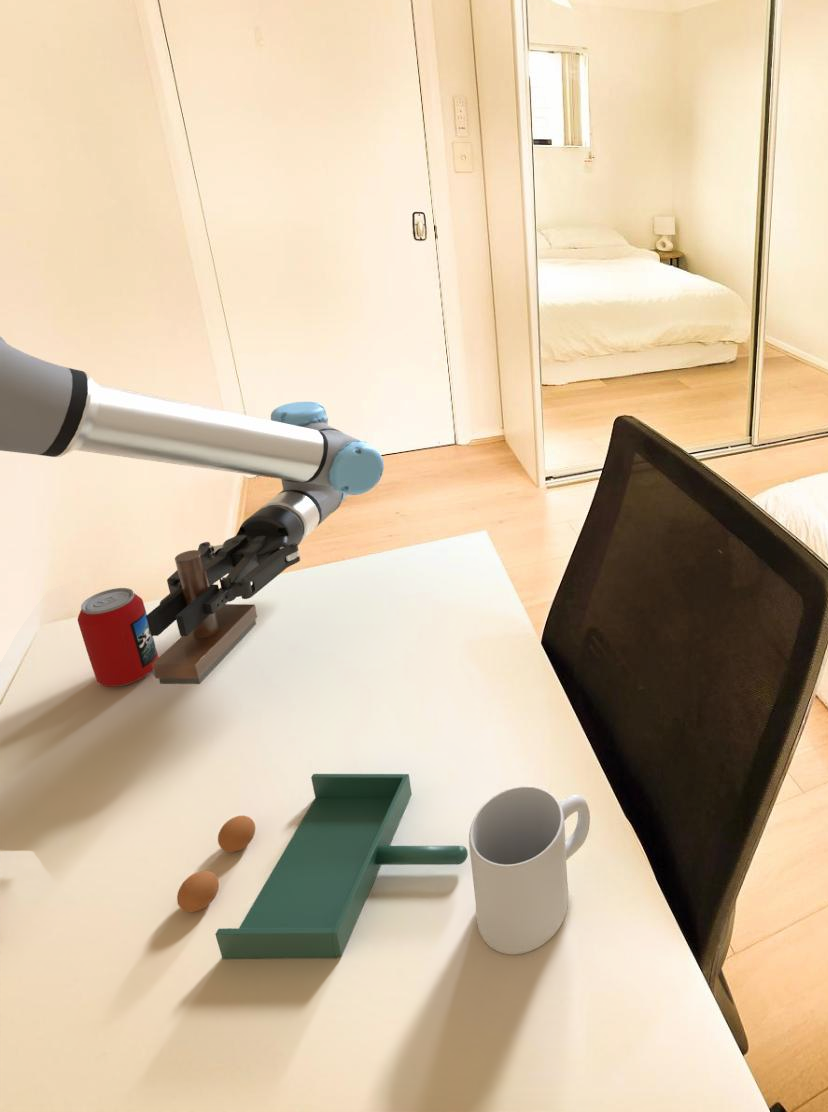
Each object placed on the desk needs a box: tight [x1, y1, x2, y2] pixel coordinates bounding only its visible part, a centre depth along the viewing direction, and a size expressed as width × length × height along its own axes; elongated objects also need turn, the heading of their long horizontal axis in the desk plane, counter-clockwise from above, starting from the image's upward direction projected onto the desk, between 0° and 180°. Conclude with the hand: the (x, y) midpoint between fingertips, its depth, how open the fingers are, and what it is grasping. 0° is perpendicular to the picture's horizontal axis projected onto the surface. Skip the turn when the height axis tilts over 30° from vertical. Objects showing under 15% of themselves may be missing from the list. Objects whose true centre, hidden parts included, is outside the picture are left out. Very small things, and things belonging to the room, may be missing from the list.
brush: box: [152, 549, 258, 685], centre depth 85 cm, size 5×12×14 cm, turn 1°
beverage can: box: [77, 587, 159, 687], centre depth 92 cm, size 7×7×12 cm
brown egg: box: [176, 870, 220, 913], centre depth 65 cm, size 3×3×3 cm
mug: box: [468, 785, 591, 955], centre depth 65 cm, size 12×8×11 cm
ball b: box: [217, 815, 256, 853], centre depth 71 cm, size 3×3×3 cm
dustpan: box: [214, 773, 469, 960], centre depth 69 cm, size 19×17×3 cm
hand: (166, 625), depth 79 cm, fingers closed on brush, 3 cm apart
